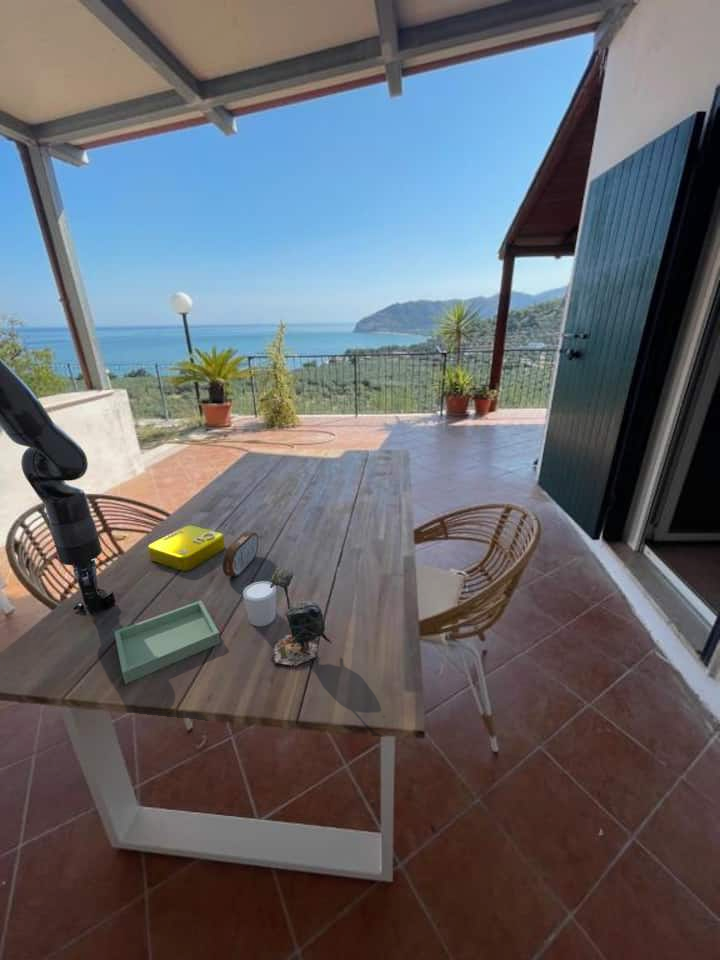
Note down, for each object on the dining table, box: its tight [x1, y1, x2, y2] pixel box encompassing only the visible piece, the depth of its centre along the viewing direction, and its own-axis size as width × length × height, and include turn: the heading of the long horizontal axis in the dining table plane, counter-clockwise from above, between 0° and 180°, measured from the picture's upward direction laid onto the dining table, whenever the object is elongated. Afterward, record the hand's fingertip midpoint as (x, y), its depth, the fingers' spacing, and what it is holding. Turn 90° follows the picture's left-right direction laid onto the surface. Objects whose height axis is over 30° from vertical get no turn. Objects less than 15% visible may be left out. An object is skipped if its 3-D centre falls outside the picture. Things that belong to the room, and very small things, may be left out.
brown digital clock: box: [222, 530, 259, 577], centre depth 102 cm, size 15×3×8 cm, turn 168°
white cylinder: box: [242, 580, 277, 627], centre depth 83 cm, size 7×7×7 cm
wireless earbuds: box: [72, 587, 116, 611], centre depth 87 cm, size 5×7×3 cm, turn 77°
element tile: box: [147, 524, 226, 572], centre depth 109 cm, size 15×15×5 cm
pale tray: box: [114, 600, 221, 685], centre depth 77 cm, size 17×13×3 cm
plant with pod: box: [270, 566, 332, 667], centre depth 71 cm, size 8×11×20 cm
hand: (94, 602), depth 87 cm, fingers open, 6 cm apart
